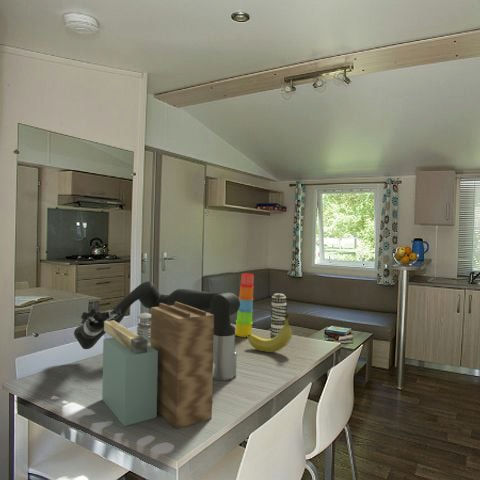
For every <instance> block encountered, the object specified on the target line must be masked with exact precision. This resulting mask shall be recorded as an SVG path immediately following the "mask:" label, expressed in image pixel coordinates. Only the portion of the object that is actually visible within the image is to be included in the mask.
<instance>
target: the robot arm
mask: <svg viewBox="0 0 480 480" xmlns="http://www.w3.org/2000/svg"><path fill="white" fill-rule="evenodd" d="M238 297H239V296H237V295H236V294H234V293H233V292H207V291H201V290H195V289H188V288H187V289H186V288H178V289H175V290H173V291H172V292H171V293H170V294H162V293H161V292H160V291H159V290H158V288H157V287H156V285H155V284H154V283H153V282H152V281H144V282H142V283H140V284H139V285H137V286H136V287H135V288H134V289H132V290H131V292H129V293H128V294H127V295H126V296H125V297H124V298H123V299H121V301H119V302H118V303H117V305H115V306H114V307H113V308H111V309H108V310H105V311H98V310H96V308H95V307H92V309H90V310H89V311H87V312H82V314H81V316H80V323H81V325H78V326H77V327H76V328H75V330H74V331H73V335H74V338H75V339H76V341H77V342H78V343H79V345H80V347H81V348H82V349H83V350H89V349H92V348H93V347H94V346H95V345H96V344H97V343H98V342H99V340H100V339H101V338H102V337H103V336H104V335H105V334H107V333H106V332H105V331H104V321H112V320H114V321H116V322H117V323H119V324H121V322H122V321H123V319H124V317H125V316H126V313H127V311H128V310H129V309H130V307H131V306H132V305H133V304H135V302H137V301H139V302H140V303H141V305H142V306H143V307H144V308H145V309H151V307H159V303H163V304H166V305H169V306H172V305H174V302H179V303H182V304H185V305H188V306H191V307H194V308H197V309H199V310H202V311H205V312H206V311H209V313H210V314H213V315H214V341H213V363H214V364H215V368H214V373H213V380H216V381H229V379H230V380H232V379H234V378H235V377H234V376H236V377H237V357H238V354H237V352H236V350H235V349H236V348H235V347H236V346H235V345H236V344H235V343H236V341H235V340H236V335H235V332H236V326H234V325H233V324H231V317H230V316H232V315H234V314H236V313H237V312H238V309H239V308H240V300H239V298H238ZM233 377H234V378H233ZM231 378H232V379H231Z"/></svg>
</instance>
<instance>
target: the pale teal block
mask: <svg viewBox="0 0 480 480" xmlns="http://www.w3.org/2000/svg"><path fill="white" fill-rule="evenodd" d="M102 342H103V343H102V344H103V345H102V348H103V350H102V387H101V389H102V393H101V394H102V395H101V396H102V397H101V398H102V399H101V400H102V401H103V403H105V405H106V406H107V407H108V409H110V411H111V412H112V413H113V414H114V415H115V416H116V418H117V419H118V420H119V421H120V423H121V424H122V425H123V426H124V427H126V426H131V425H134V424H137V423H138V424H139V423H142V422H145V421H149V420H152V419H156V418H157V414H158V413H157V412H158V411H157V370H158V351H157V350H155V349H154V348H152V347H151V345H147V352H146V353H139V354H135V353H133V352H132V351H131V350H129V349H128V348H127V347H125V346H124V345H123V344H121V343H120V342H118V341H117V340H116V339H114V338H113V337H107V338H103V341H102Z"/></svg>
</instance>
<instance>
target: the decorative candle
mask: <svg viewBox="0 0 480 480" xmlns="http://www.w3.org/2000/svg"><path fill="white" fill-rule="evenodd" d="M269 306H270V308H269V309H270V319H271V322H270V323H271V324H270V328H269V329H270V333H269V335H270V336H269V339H273V338H274V337H276V336H277V335H278V334H279V332H280V331H281V329H282V328H283V326H284V324H285V318H284V317H285V316H286V314H287V313H288V312H286V311H287V310H288V305H287V296H286V295H285V294H284V293H277V292H276V293H273V295H272V296H271V304H270V305H269Z"/></svg>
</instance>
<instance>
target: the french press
mask: <svg viewBox="0 0 480 480" xmlns="http://www.w3.org/2000/svg"><path fill="white" fill-rule="evenodd" d="M136 318H137V319H141V320H142V319H143V320H146V319H151V313H149V312H142V313H139V314H138V315H137V316H136ZM136 334H137V335H139V336H140V337H143V338H144V339H146V340H147V345H149V346H151V320H147V322H146V321H144V322H138V324H137V326H136Z"/></svg>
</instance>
